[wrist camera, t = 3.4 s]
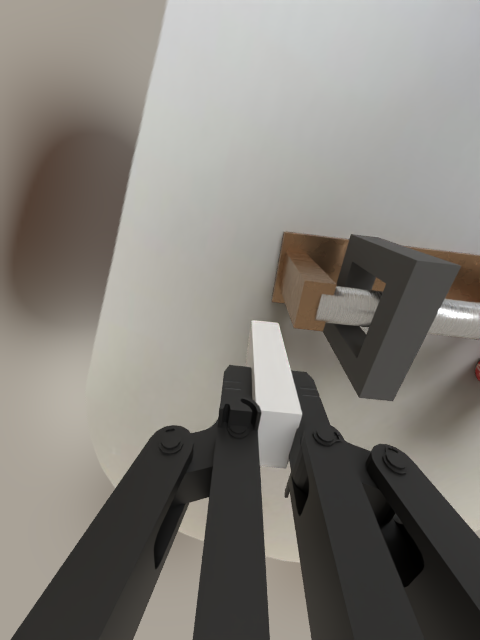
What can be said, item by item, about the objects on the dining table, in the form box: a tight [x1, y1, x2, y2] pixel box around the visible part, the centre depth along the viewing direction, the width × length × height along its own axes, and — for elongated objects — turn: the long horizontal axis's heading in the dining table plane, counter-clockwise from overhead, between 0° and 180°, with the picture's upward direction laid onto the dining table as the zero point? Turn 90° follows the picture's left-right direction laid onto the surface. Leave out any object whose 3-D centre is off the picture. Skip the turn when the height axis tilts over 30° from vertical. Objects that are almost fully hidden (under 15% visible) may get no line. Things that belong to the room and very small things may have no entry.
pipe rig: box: [272, 232, 480, 340], centre depth 25 cm, size 29×8×12 cm, turn 84°
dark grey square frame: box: [323, 234, 461, 401], centre depth 21 cm, size 2×10×10 cm, turn 173°
